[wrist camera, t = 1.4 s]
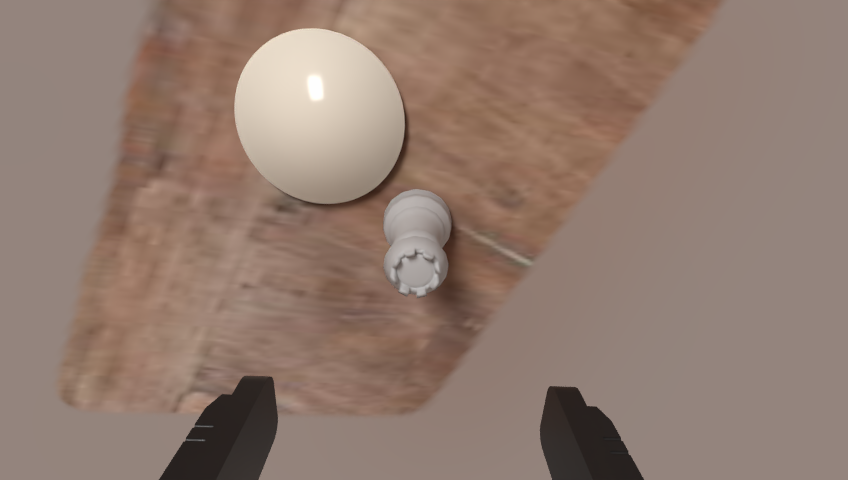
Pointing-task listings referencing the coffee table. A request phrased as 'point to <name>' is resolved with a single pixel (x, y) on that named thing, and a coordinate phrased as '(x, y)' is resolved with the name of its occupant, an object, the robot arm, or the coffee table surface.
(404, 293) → the rook chess piece
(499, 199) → the coffee table surface
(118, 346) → the coffee table surface
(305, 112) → the cream round disc
